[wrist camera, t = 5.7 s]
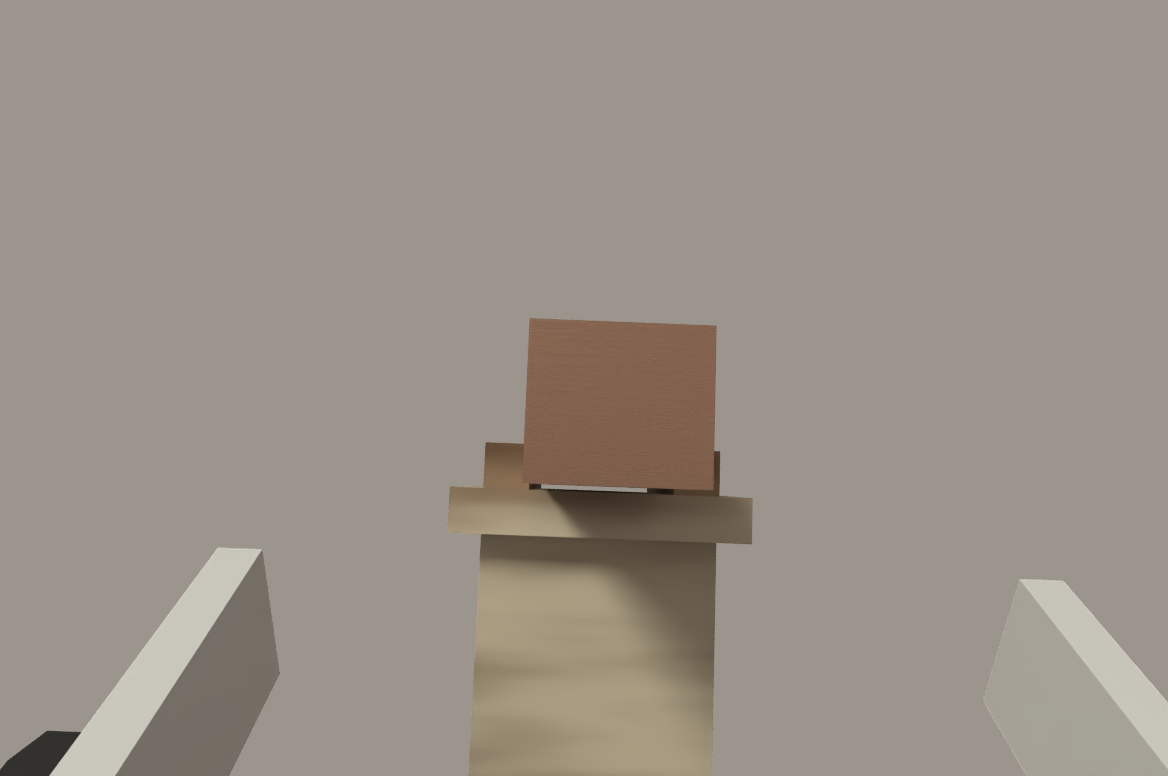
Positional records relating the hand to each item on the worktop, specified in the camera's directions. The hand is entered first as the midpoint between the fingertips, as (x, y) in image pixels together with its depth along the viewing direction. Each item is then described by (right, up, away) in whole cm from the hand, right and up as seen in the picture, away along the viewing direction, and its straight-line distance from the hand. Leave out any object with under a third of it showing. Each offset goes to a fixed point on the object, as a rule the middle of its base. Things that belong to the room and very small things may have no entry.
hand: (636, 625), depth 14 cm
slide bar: (0, +1, +13) cm, 13 cm away
